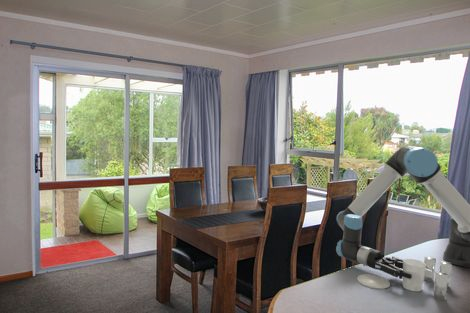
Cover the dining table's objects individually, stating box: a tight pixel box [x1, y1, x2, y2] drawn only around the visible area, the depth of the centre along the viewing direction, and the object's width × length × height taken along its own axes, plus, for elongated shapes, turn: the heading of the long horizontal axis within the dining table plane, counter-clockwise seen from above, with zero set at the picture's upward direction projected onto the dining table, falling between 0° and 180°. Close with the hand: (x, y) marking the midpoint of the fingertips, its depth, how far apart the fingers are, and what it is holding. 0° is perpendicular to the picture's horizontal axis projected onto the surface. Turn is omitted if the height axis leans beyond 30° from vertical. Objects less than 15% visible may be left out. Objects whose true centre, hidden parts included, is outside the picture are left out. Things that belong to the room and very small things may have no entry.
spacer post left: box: [423, 256, 437, 283], centre depth 152 cm, size 4×4×9 cm
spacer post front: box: [432, 271, 448, 302], centre depth 137 cm, size 4×4×9 cm
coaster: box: [356, 273, 391, 290], centre depth 149 cm, size 12×12×1 cm
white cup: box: [402, 258, 426, 292], centre depth 144 cm, size 8×8×10 cm
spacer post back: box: [438, 260, 453, 289], centre depth 148 cm, size 4×4×9 cm
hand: (426, 276), depth 140 cm, fingers closed on white cup, 8 cm apart
